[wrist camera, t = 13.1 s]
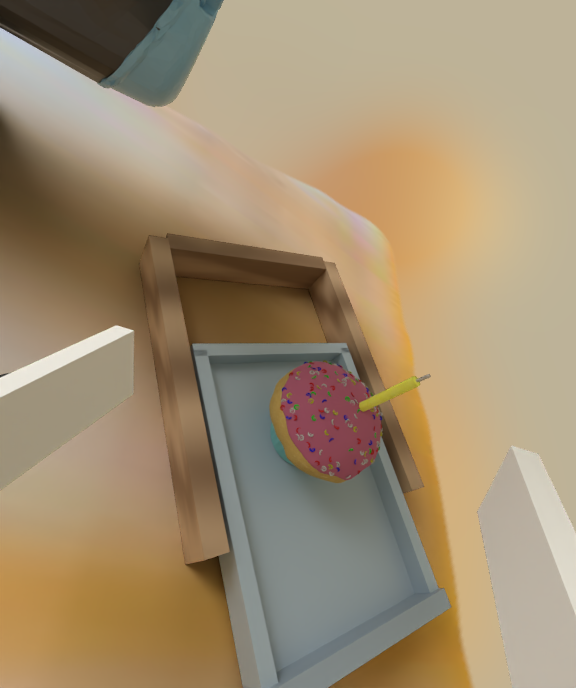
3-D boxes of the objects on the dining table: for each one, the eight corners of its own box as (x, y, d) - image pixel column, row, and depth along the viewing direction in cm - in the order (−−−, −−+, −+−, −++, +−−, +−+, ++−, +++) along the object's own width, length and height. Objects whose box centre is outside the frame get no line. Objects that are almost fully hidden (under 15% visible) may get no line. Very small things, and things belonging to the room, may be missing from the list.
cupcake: (327, 389, 35) (429, 318, 26) (351, 488, 31) (481, 444, 22) (238, 386, 30) (326, 299, 21) (255, 502, 26) (369, 453, 18)
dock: (138, 258, 33) (148, 230, 30) (315, 279, 44) (333, 259, 41) (185, 564, 24) (204, 560, 21) (394, 495, 34) (424, 486, 32)
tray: (182, 359, 30) (194, 340, 28) (330, 355, 38) (349, 340, 36) (247, 711, 21) (272, 723, 19) (420, 606, 30) (451, 607, 28)
